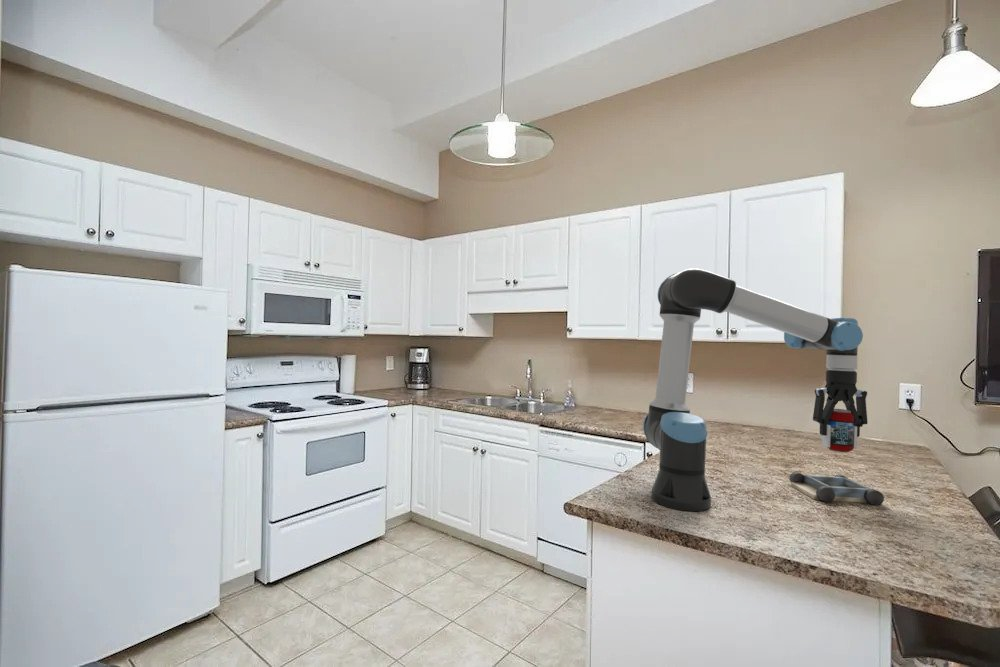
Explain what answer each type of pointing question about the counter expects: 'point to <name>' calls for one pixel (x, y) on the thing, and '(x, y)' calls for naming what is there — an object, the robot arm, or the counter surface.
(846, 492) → the chassis
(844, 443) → the beverage can
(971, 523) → the counter surface
